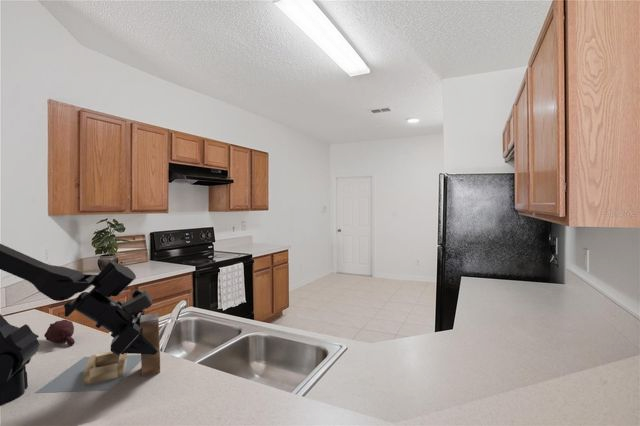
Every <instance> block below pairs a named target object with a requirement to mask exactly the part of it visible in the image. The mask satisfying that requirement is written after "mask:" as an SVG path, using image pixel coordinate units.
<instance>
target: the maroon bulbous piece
mask: <svg viewBox="0 0 640 426" xmlns="http://www.w3.org/2000/svg"><path fill="white" fill-rule="evenodd" d="M74 332H75V326H74V323H73V321H71V320H67V319H61V320H57V321H54V322H53V323H50V324H49V326H48V328H47V330H46V332H45V333H44V335H43V336H44V337H45V340H46V341H49V342H51V343H56V344H57V343H59V344H61V343H64V342H65V343H67V344H68V345H69V346H71V347H72V346H74V345H75V343H76V341H75V338H74V337H72V336H73V335H74Z"/></svg>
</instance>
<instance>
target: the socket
mask: <svg viewBox="0 0 640 426" xmlns="http://www.w3.org/2000/svg"><path fill="white" fill-rule="evenodd" d="M127 355H128V353H124V354H120V355H116V354H115V353H113V352H111V351H108V352H103V353H97V354H93V355H92V354H91V356H89V357H90V359H89V361H88V363H87V366H86V368H85V370H84V372H83V376H84V385H86V384H90V383H95V382H99V381H103V380H108V379H112V378H117V377H121V376H124V371H125V366H126V362H127Z"/></svg>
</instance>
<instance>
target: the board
mask: <svg viewBox="0 0 640 426" xmlns="http://www.w3.org/2000/svg"><path fill="white" fill-rule="evenodd" d="M90 357H91V356H84V357H82V358H81V359H80V360H78V361H77V362H75V363H74V364H73V365H71V366H70V367H68V368H67V369H66V370H64V371H63V372H62V373H60V374H59V375H57V376H56V377H55V378H53V379H52V380H50V381H49V382H48V383H46V384H45V385H43V386H42V387H41V388H39V389H38V390H37V391H35V392H34V394H42V393H43V394H44V393H46V394H47V393H65V392H67V393H69V392H89V391H90V392H91V391H92V392H93V391H95V392H96V391H113V389H114V388H115V387H116V386H118V384H119V383H121V382H122V380H124V378H125V377H126V376H128V374H130V373H131V371H133V370H134V369H135V368H136V366H138V364H139V363H140V362H141V354H127V362H126V366H125V371H124V376H121V377H117V378H112V379H108V380H103V381H99V382H95V383H90V384H86V385H84V376H83V372H84V370H85V368H86V366H87V363H88V361H89V359H90Z"/></svg>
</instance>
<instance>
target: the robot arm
mask: <svg viewBox="0 0 640 426" xmlns="http://www.w3.org/2000/svg"><path fill="white" fill-rule="evenodd" d="M0 270H1V271H3V272H6V273H7V274H10V275H13V276H15V277H18V278H19V279H21V280H24V281H26V282H28V283H30V284H31V285H33V287H35V288H36V290H37V291H38V292H39V293H41V294H42V295H44V296H46V297H47V298H48V299H50V300H52V301H56V302H63V301H66V300H68V301H66V302H65V303H64V304H63V308H64V317H66V318H67V317H69V316H70V315H71V314H72V313H73V312H74V311H76V312H78V313H79V314H81V315H83V316H84V317H85V318H87V319H89V320H90V321H92V322H94V323H96V324H95V325H94V327H96V328H97V329H100V328H101V327H102V328H104V329H105V330H107V331H108V332H110V336H111V337H112V340H111V343H110V352H113V353H115V354H116V355H120V354H124V353H127V355H141V354H150V355H155V354H156V353H157V352H158V350H157V349H156V348H155V347H154V346H153V345H152V344H151V343H150V342H149V341H147V340H146V339H145V338H144V337H143V328H140V318H141V315H146V311H145V310H146V309H149V308H150V307H152V306H153V302H154V301H153V299H152V297H151V296H150V293H149V292H148V291H147V290H141V289H140V288H138V289H136V290H134V291H132V293H131V296H132V297H129V299H128V300H126V301H122V300H120V299H119V300H118V299H117V300H116V301H115V300H113V299H112V298H110V297H118V296H119V295H121V293H122V292H123V291H124V290H125V289H126V288H127V287H128V286H129V285H130V284H131V283H132V282H134V281H135V280H136V278H137V276H136V274H135V273H134V271H133V270H132V269H131V268H129V267H128V266H125V265H123V264H121V263H117V262H116V261H114V260H111V261H110V262H108V263H107V264H106V265H105V266H104V268H103V269H102V270H101V271H100V272H99V273H98V274H90V273H89V274H88V273H87V274H85V273H83V272H81V271H80V270H76V269H73V268H69V267H66V266H60V265H53V264H48V263H45V262H43V261H41V260H38V259H36V258H34V257H32V256H29V255H27V254H25V253H22V252H20V251H17V250H16V249H13V248H11V247H9V246H6V245H5V244H2V243H0ZM92 286H93V287H92ZM91 287H92V288H91ZM89 288H91V289H90V290H89V291H86V290H88V289H89ZM77 294H78V295H77ZM75 295H77V297H76V298H74V299H73V300H70V301H69V299H70V298H73V296H75ZM39 337H40V336H39V335H38V334H35V332H33V330H32V329H31V328H30V326H29V325H28V324H26V323H25V324H23V325H22V326H20V327H18V326H15V325H12V324H10V323H9V322H8V321H7V319H5V318H4V317H3V316H2V314H1V313H0V407H2V406H4V405H5V404H7V403H10V402H13V401H16V400H17V399H19V398H20V397H22V396H23V395H24V394H25V392H26V390H27V389H28V387H29V385H28V371H27V369H26V367H27V366H26V365H27V364H28V365H29V363H30V362H31V360H32V357H33V356H35V355H36V354H37V353H38V351H39V347H40V341H39V340H38V338H39Z"/></svg>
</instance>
